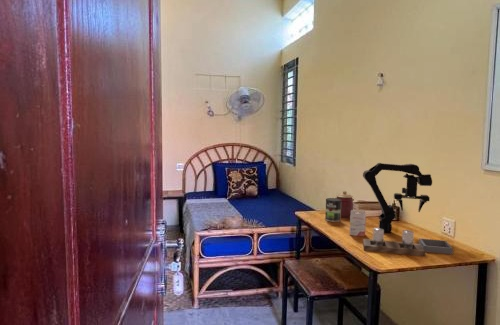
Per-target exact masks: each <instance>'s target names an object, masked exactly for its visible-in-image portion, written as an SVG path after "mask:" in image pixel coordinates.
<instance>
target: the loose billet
mask: <svg viewBox="0 0 500 325" xmlns="http://www.w3.org/2000/svg"><path fill="white" fill-rule="evenodd" d="M401 242H402V248H409V249H413V243H414V231H412V230H409V229H405V230H404V229H403V230H402V236H401Z"/></svg>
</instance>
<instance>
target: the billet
mask: <svg viewBox="0 0 500 325" xmlns="http://www.w3.org/2000/svg"><path fill="white" fill-rule="evenodd" d="M372 230H373V231H372V240H373V245H377V246H383V241H384V236H385V235H384V234H385V233H384V229H382V228H379V227H373V229H372Z"/></svg>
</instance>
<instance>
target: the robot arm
mask: <svg viewBox="0 0 500 325" xmlns="http://www.w3.org/2000/svg"><path fill="white" fill-rule="evenodd" d="M381 171H391V172H402V173H405V175H404V174H403V178H406V187H402V188H401V193H398V192H395V193H393V198H394V200H396V201H398V203H399V205H400V207H399V208H400V210H401V211H402V212H403V209H404V204H403V199H409V200H410V199H411V200H419V203H418V209H417V210H418V213H420V212H421V210H422V208H423V206H424V205H425V203H427V202H430V196H429V195H427V194H420V195H418V194H417V193H418V185H419V186H420V187H423V186H424V187H432V185H433V179H432V175H431V174H430V173H427V174H422V172H421V171H420V167H419V165H417V164H414V163H406V164H395V163H394V164H393V163H382V162H377V163H376V164H375V165H374V166H372V167H371V168H369V169H368V170H365V171H363V172H362V177H363V179H364V180H365V182H367V184H368V185H369V186H370V188H371V190H372V192H373V194H374V195H375V198H376V200H377V201H378V204H379V205H380V209H381V214H380V215H378V220H379V221H378V228H382V229H384V234H391V233H392V230H393V229H392V228H393V227H392V226H393V225H392V221H393V220H395V218H396V211H395V210H394V207H393V206H392V205H391V204H388V203H387V201H386V199H385V197H384V195H383V193H382V191H381V189H380V188H379V185H378V183H377V182H378V181H377V177H376V176H377V175H378V174H379V173H381Z"/></svg>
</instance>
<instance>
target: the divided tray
mask: <svg viewBox="0 0 500 325" xmlns="http://www.w3.org/2000/svg"><path fill="white" fill-rule="evenodd" d="M362 241H363V242H362V245H363V246H362V248H363V251H366V252H376V253H386V254H387V253H388V254H397V255H406V256H417V257H426V252H425V251H424V249H423V247H422V246H421V244H419V243H415V242H413V249H409V248H402V241H393V240H383V246H377V245H373V238H372V239H369V238H363V239H362Z"/></svg>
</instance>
